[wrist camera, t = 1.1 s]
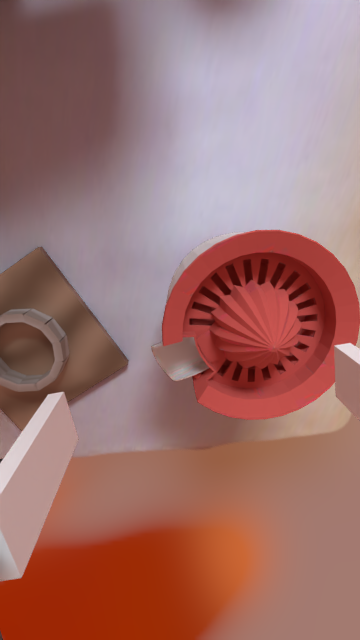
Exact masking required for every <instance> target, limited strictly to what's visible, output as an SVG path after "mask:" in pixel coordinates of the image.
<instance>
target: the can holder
mask: <svg viewBox="0 0 360 640" xmlns="http://www.w3.org/2000/svg"><path fill="white" fill-rule="evenodd" d="M127 364H128V359H127V358H126V357H125V355H124V354H123V353H122V351H121V350H120V349H119V347H118V346H117V345H116V343H115V342H114V341H113V340H112V338H111V337H110V336H109V334H108V333H107V332H106V330H105V329H104V328H103V326H102V325H101V324H100V323H99V321H98V320H97V319H96V317H95V316H94V315H93V313H92V312H91V311H90V309H89V308H88V307H87V305H86V304H85V303H84V302H83V300H82V299H81V298H80V296H79V295H78V294H77V292H76V291H75V290H74V288H73V287H72V286H71V284H70V283H69V282H68V281H67V279H66V278H65V277H64V275H63V274H62V273H61V271H60V270H59V269H58V267H57V266H56V265H55V263H54V262H53V261H52V260H51V258H50V257H49V256H48V254H47V253H46V252H45V250H44V249H43V248H42V247H38V248H36V249H35V250H34V251H32V252H31V253H29V254H28V255H27V256H25V257H24V258H22V259H21V260H20V261H18V262H17V263H15V264H14V265H13V266H11V267H10V268H8V269H7V270H6V271H4V272H3V273H1V274H0V409H1V410H2V411H3V412H4V413H5V414H6V415H7V416H8V417H9V418H10V419H11V420H12V421H13V422H14V423H15V424H16V426H17V427H18V428H19V429H20V430H21V431H22V430H24V428H25V427H26V426H27V424H28V423H29V421H30V420H31V418H32V417H33V416H34V414H35V413H36V411H37V410H38V408H39V407H40V405H41V404H42V403H43V401H44V400H45V398H46V397H47V395H48V394H53V393H59V392H64V394H65V397H66V400H67V402H68V401H70V400H72V399H73V398H75V397H76V396H78V395H80V394H81V393H83V392H84V391H86V390H88V389H89V388H91V387H92V386H94V385H95V384H97V383H99V382H100V381H102V380H103V379H105V378H107V377H108V376H110V375H111V374H113V373H115V372H116V371H118V370H119V369H121V368H123V367H124V366H126V365H127Z"/></svg>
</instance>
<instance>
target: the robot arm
mask: <svg viewBox="0 0 360 640" xmlns="http://www.w3.org/2000/svg"><path fill="white" fill-rule="evenodd" d="M334 357H335V391H336V397H337V398H338V399H339V400H340V401H341V402H342V403H343V404H344V405H345V406H346V407H347V408H348V409H349V410H350V411H351V413H352V414H353V415H354V416H355V417H356V418H358V420H359V421H360V349H359V348H357V347H356V346H354V345H353V344H351V343H346V344H341V345H335V346H334ZM78 440H79V439H78V435H77V432H76V429H75V426H74V423H73V419H72V416H71V413H70V410H69V406H68V403H67V400H66V397H65V394H64V392H59V393H53V394H48V395H47V397H46V398H45V400H44V401H43V403H42V404H41V405H40V407H39V408H38V410H37V411H36V413H35V414H34V416H33V417H32V418H31V420H30V421H29V423H28V424H27V426H26V427H25V428H24V430H23V431H22V433H21V434H20V436H19V437H18V438H17V440H16V441H15V443H14V444H13V446H12V447H11V448H10V450H9V451H8V453H7V454H6V456H5V457H4V458H3V459H0V581H4V580H11V579H17V578H21V577H22V576H23V573H24V571H25V568H26V566H27V564H28V561H29V559H30V556H31V554H32V551H33V549H34V547H35V544H36V542H37V539H38V537H39V534H40V532H41V530H42V527H43V524H44V522H45V520H46V517H47V515H48V513H49V510H50V508H51V505H52V503H53V500H54V498H55V496H56V493H57V491H58V488H59V486H60V483H61V481H62V479H63V476H64V474H65V471H66V469H67V466H68V464H69V462H70V459H71V457H72V454H73V452H74V450H75V447H76V445H77V442H78ZM0 640H3V638H2V635H1V632H0Z"/></svg>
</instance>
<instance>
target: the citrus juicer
mask: <svg viewBox="0 0 360 640" xmlns="http://www.w3.org/2000/svg"><path fill="white" fill-rule="evenodd" d="M359 326H360V311H359V301H358V298H357V294H356V290H355V287H354V284H353V282H352V280H351V279H350V277H349V275H348V273H347V271H346V269H345V267H344V266H343V265H342V264H341V263H340V262H339V261H338V259H337V258H336V257H335V256H334V255H333V254H332V253H331V252H330V251H328V250H327V249H326V248H324V247H323V246H322V245H320V244H319V243H317V242H316V241H313V240H311V239H309V238H307V237H304V236H302V235H300V234H296V233H291V232H286V231H281V230H255V231H251V232H234V233H229V234H225V235H220V236H216V237H214V238H212V239H209V240H207V241H205V242H203V243H202V244H200V245H199V246H197V247H196V248H195V249H193V250H192V251H191V252H190V253H189V254H188V255H187V256H186V257H185V258H184V259H183V260H182V262H181V263H180V265H179V266H178V268H177V270H176V271H175V273H174V276H173V278H172V281H171V283H170V286H169V290H168V296H167V302H166V306H165V312H164V317H163V323H162V342H160V343H158V344H156V345H153V346H151V348H152V352H153V354H154V357H155V359H156V360H157V362H158V364H159V365H160V367H161V368H162V369H163V370H164V372H165V373H166V374H167V375H168V376H169V377H170V378H171V379H172V380H173V381H180V380H183V379H186V378H188V377H191V376H192V377H193V384H194V389H195V394H196V398H197V402H198V403H200V404H202V405H203V406H205V407H207V408H209V409H210V410H212V411H214V412H217V413H220V414H223V415H226V416H229V417H233V418H240V419H247V420H252V419H268V418H273V417H278V416H283V415H286V414H288V413H291V412H293V411H296V410H299V409H301V408H302V407H304V406H306V405H308V404H309V403H311V402H313V401H314V400H316V399H317V398H318V397H320V396H321V395H322V394H323V393H324V392H325V391H327V390H328V389H329V388H330V387H331V386H332V385H333V384H334V382H335V357H334V346H335V345H341V344H346V343H351V344H353V345H354V346H355V345H356V343H357V339H358V333H359Z"/></svg>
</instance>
